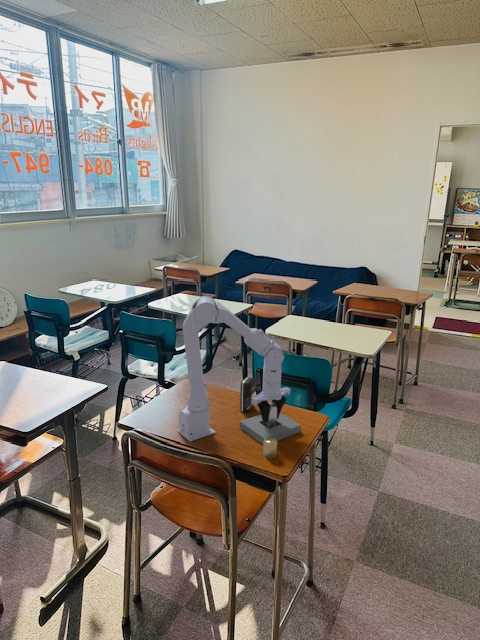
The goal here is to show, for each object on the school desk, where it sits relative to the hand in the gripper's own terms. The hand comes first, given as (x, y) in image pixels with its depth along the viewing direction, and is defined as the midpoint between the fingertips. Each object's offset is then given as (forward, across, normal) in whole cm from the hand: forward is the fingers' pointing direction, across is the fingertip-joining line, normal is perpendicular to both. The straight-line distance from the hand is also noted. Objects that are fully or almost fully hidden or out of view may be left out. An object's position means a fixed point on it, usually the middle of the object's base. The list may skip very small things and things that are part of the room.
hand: (270, 419), depth 143 cm
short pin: (+4, -9, -11) cm, 15 cm away
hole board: (+4, 0, 0) cm, 4 cm away
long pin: (+3, 0, 0) cm, 3 cm away
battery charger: (+4, +3, +16) cm, 17 cm away
